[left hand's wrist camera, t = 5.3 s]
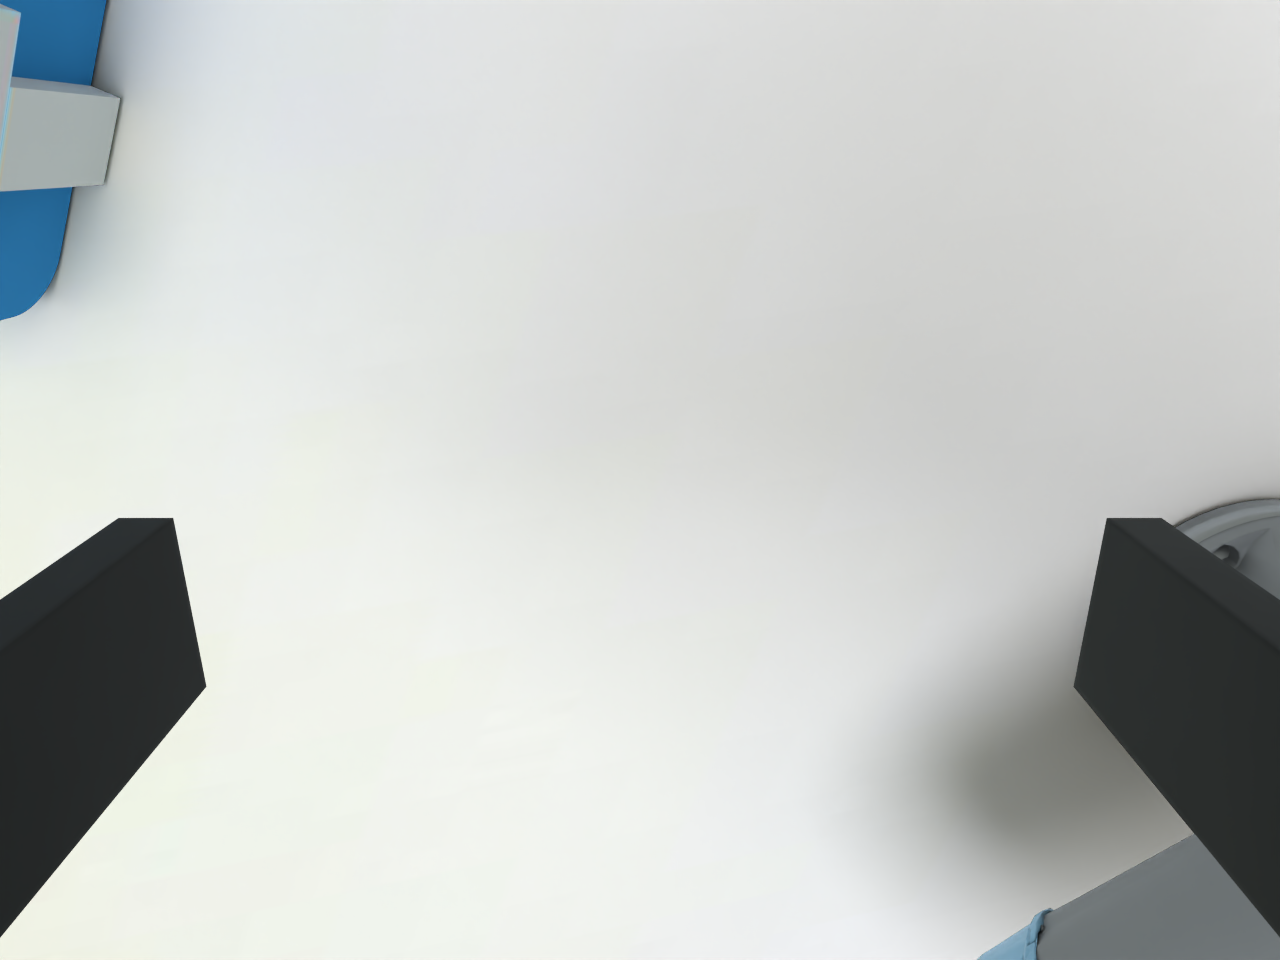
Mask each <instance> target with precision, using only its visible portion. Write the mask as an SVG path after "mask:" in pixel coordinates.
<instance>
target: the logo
mask: <svg viewBox="0 0 1280 960" xmlns="http://www.w3.org/2000/svg"><path fill="white" fill-rule="evenodd" d="M105 5H106V0H0V320H3V319H7V318H11V317H14V316H17V315H20V314H22V313H24V312H25V311H27V310H28V309H30V308H31V307H32V306H33V305H34V304H35V303H36V302H37V301H38V300H39V299H40V298H41V296H42V295H43V294H44V292H45V291H46V289H47V288H48V286H49V284H50V283H51V281H52V278H53V276H54V274H55V271H56V269H57V265H58V262H59V258H60V253H61V247H62V242H63V236H64V231H65V225H66V220H67V214H68V209H69V203H70V198H71V192H72V187H79V186H94V185H104V180H105V175H106V170H107V165H108V159H109V154H110V149H111V144H112V139H113V134H114V129H115V124H116V119H117V114H118V109H119V104H120V98H119V97H116V96H114V95H112V94H109V93H107V92H104V91H102V90H100V89H97V88H95V87H93V86H91V82H92V77H93V71H94V66H95V60H96V55H97V49H98V44H99V38H100V33H101V27H102V22H103V16H104V11H105Z"/></svg>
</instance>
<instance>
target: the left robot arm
mask: <svg viewBox="0 0 1280 960" xmlns="http://www.w3.org/2000/svg"><path fill="white" fill-rule="evenodd" d="M205 688H206V683H205V677H204V672H203V667H202V662H201V657H200V652H199V647H198V642H197V637H196V632H195V627H194V622H193V617H192V611H191V606H190V601H189V596H188V591H187V586H186V581H185V576H184V571H183V566H182V561H181V556H180V551H179V545H178V540H177V535H176V530H175V525H174V520H173V518H118V519H117V520H115V521H114V522H112V523H111V524H109V525H108V526H106V527H105V528H104V529H102V530H101V531H99V532H98V533H96V534H95V535H93V536H92V537H91V538H89V539H88V540H86V541H85V542H83V543H82V544H80V545H79V546H78V547H76V548H75V549H73V550H72V551H70V552H69V553H67V554H66V555H64V556H63V557H62V558H60V559H59V560H57V561H56V562H54V563H53V564H51V565H50V566H49V567H47V568H46V569H44V570H43V571H41V572H40V573H38V574H37V575H35V576H34V577H33V578H31V579H30V580H28V581H27V582H25V583H24V584H22V585H21V586H20V587H18V588H17V589H15V590H14V591H12V592H11V593H9V594H8V595H6V596H5V597H4V598H2V599H1V600H0V937H1V936H2V935H3V933H4V932H5V931H6V930H7V929H8V927H9V926H10V925H11V924H12V923H13V921H14V920H15V919H16V918H17V916H18V915H19V914H20V913H21V912H22V910H23V909H24V908H25V907H26V905H27V904H28V903H29V902H30V901H31V899H32V898H33V897H34V896H35V895H36V893H37V892H38V891H39V890H40V888H41V887H42V886H43V885H44V884H45V882H46V881H47V880H48V879H49V877H50V876H51V875H52V874H53V873H54V871H55V870H56V869H57V868H58V867H59V865H60V864H61V863H62V862H63V860H64V859H65V858H66V857H67V856H68V854H69V853H70V852H71V851H72V849H73V848H74V847H75V846H76V845H77V843H78V842H79V841H80V840H81V839H82V837H83V836H84V835H85V834H86V832H87V831H88V830H89V829H90V828H91V826H92V825H93V824H94V823H95V821H96V820H97V819H98V818H99V817H100V815H101V814H102V813H103V812H104V811H105V809H106V808H107V807H108V806H109V804H110V803H111V802H112V801H113V800H114V798H115V797H116V796H117V795H118V793H119V792H120V791H121V790H122V789H123V787H124V786H125V785H126V784H127V783H128V781H129V780H130V779H131V778H132V776H133V775H134V774H135V773H136V772H137V770H138V769H139V768H140V767H141V765H142V764H143V763H144V762H145V761H146V759H147V758H148V757H149V756H150V754H151V753H152V752H153V751H154V750H155V748H156V747H157V746H158V745H159V744H160V742H161V741H162V740H163V739H164V737H165V736H166V735H167V734H168V733H169V731H170V730H171V729H172V728H173V726H174V725H175V724H176V723H177V722H178V720H179V719H180V718H181V717H182V716H183V714H184V713H185V712H186V711H187V709H188V708H189V707H190V706H191V705H192V703H193V702H194V701H195V700H196V698H197V697H198V696H199V695H200V694H201V692H202V691H203V690H204V689H205ZM1074 688H1075V689H1076V690H1077V691H1078V692H1079V694H1080V695H1081V696H1082V697H1083V698H1084V700H1085V701H1086V702H1087V703H1088V705H1089V706H1090V707H1091V708H1092V709H1093V711H1094V712H1095V713H1096V714H1097V716H1098V717H1099V718H1100V719H1101V720H1102V722H1103V723H1104V724H1105V725H1106V726H1107V728H1108V729H1109V730H1110V731H1111V733H1112V734H1113V735H1114V736H1115V737H1116V739H1117V740H1118V741H1119V742H1120V744H1121V745H1122V746H1123V747H1124V748H1125V750H1126V751H1127V752H1128V753H1129V754H1130V756H1131V757H1132V758H1133V759H1134V761H1135V762H1136V763H1137V764H1138V765H1139V767H1140V768H1141V769H1142V770H1143V772H1144V773H1145V774H1146V775H1147V776H1148V778H1149V779H1150V780H1151V781H1152V783H1153V784H1154V785H1155V786H1156V787H1157V789H1158V790H1159V791H1160V792H1161V793H1162V795H1163V796H1164V797H1165V798H1166V800H1167V801H1168V802H1169V803H1170V804H1171V806H1172V807H1173V808H1174V809H1175V811H1176V812H1177V813H1178V814H1179V815H1180V817H1181V818H1182V819H1183V820H1184V821H1185V823H1186V824H1187V825H1188V826H1189V828H1190V829H1191V830H1192V831H1193V832H1194V834H1193V835H1191V836H1189V837H1188V838H1186V839H1184V840H1182V841H1180V842H1179V843H1177V844H1175V845H1173V846H1171V847H1169V848H1168V849H1166V850H1164V851H1162V852H1160V853H1158V854H1157V855H1155V856H1153V857H1151V858H1149V859H1148V860H1146V861H1144V862H1142V863H1140V864H1138V865H1137V866H1135V867H1133V868H1131V869H1129V870H1128V871H1126V872H1124V873H1122V874H1120V875H1118V876H1117V877H1115V878H1113V879H1111V880H1109V881H1108V882H1106V883H1104V884H1102V885H1100V886H1098V887H1097V888H1095V889H1093V890H1091V891H1089V892H1088V893H1086V894H1084V895H1082V896H1080V897H1078V898H1077V899H1075V900H1073V901H1071V902H1069V903H1067V904H1065V905H1063V906H1061V907H1059V908H1058V909H1056V910H1053V909H1051V908H1049V909H1046V910H1043V911H1041V912H1040V913H1038V914H1037V915H1035V916H1034V918H1033V920H1032V922H1031V924H1029V925H1028V926H1026V927H1025V928H1023V929H1021V930H1020V931H1018V932H1017V933H1015V934H1014V935H1012V936H1011V937H1009V938H1008V939H1006V940H1004V941H1003V942H1001V943H1000V944H998V945H997V946H995V947H994V948H992V949H990V950H989V951H987V952H985V953H984V954H982V955H981V956H980V957H979V958H978V959H977V960H1280V499H1263V500H1254V501H1246V502H1241V503H1236V504H1231V505H1228V506H1224V507H1221V508H1217V509H1214V510H1212V511H1209V512H1206V513H1204V514H1201V515H1199V516H1197V517H1195V518H1192V519H1190V520H1188V521H1186V522H1184V523H1183V524H1181V525H1179V526H1177V527H1174V526H1172V525H1171V524H1169V523H1168V522H1166V521H1165V520H1163V519H1162V518H1107V520H1106V525H1105V530H1104V535H1103V540H1102V545H1101V551H1100V556H1099V561H1098V566H1097V571H1096V576H1095V581H1094V586H1093V591H1092V596H1091V601H1090V606H1089V611H1088V617H1087V622H1086V627H1085V632H1084V637H1083V642H1082V647H1081V652H1080V657H1079V662H1078V667H1077V672H1076V677H1075V683H1074Z"/></svg>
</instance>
